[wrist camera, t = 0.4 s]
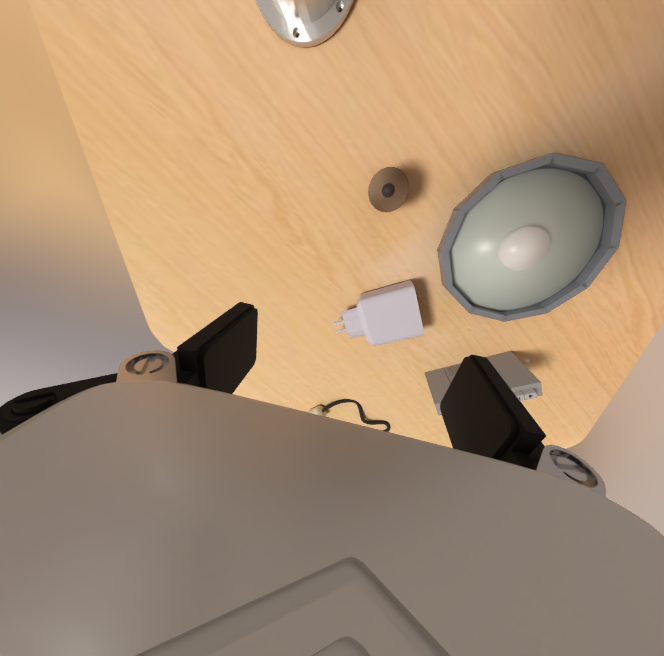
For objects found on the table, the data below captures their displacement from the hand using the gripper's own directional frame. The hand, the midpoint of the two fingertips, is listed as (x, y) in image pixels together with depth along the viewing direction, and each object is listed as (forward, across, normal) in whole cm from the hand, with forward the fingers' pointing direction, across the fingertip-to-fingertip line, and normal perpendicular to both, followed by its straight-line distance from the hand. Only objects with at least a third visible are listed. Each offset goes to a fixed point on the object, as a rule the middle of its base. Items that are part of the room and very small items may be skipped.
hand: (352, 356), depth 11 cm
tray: (+33, -22, -4) cm, 40 cm away
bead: (+33, -1, -8) cm, 34 cm away
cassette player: (+33, -24, +18) cm, 45 cm away
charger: (+33, -4, +11) cm, 35 cm away
